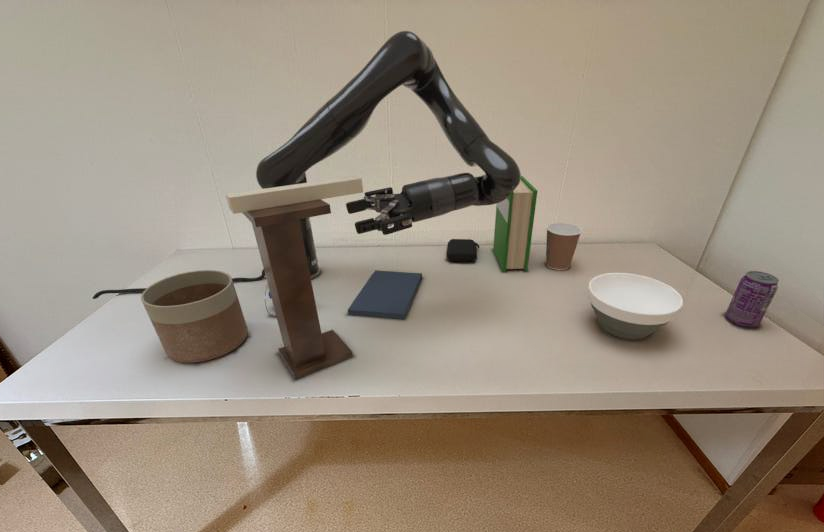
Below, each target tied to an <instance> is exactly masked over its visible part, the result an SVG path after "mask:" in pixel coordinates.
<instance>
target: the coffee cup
mask: <svg viewBox="0 0 824 532" xmlns="http://www.w3.org/2000/svg"><path fill="white" fill-rule="evenodd" d="M545 229H546V242H545V243H546V247H545V260H546V267H548V268H550V269H552V270H555V271H564V270H567V269H569V268H570V266H571V264H572V261H573V258H574V254H575V252H576V249H577V245H578V242H579V239H580V236H581V234H582V233H583V229H582V228H581V227H580V226H578V225H576V224H572V223H569V222H568V223H567V222H552V223H549V224H547V225H546V227H545Z"/></svg>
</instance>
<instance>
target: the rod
mask: <svg viewBox="0 0 824 532" xmlns="http://www.w3.org/2000/svg"><path fill="white" fill-rule="evenodd" d="M362 193H364V185H363V178H362V177H359V176H357V175H353V176H346V177H339V178H331V179H325V180H317V181H310V182H309V181H308V182H307V183H302V184H295V185H288V186H280V187H273V188H266V189H262V188H260V189H259V188H258V189H252V190H245V191H238V192H230V193H225V198H226V201H227V204H228V208H229V210H230V212H231V213H232V214H234V215H235V214H241V213H242V212H248V211H254V210H260V209H266V208H272V207H278V206H284V205H290V204H296V203H302V202H308V201H314V200H320V199H321V200H325V199H332V198H338V197H343V196H350V195H357V194H362ZM242 214H243V213H242Z"/></svg>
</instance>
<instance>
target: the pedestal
mask: <svg viewBox="0 0 824 532" xmlns="http://www.w3.org/2000/svg"><path fill="white" fill-rule="evenodd" d="M242 214H243V216H244V217H245V218H246V219H248V221H249V222H250V223H251V225H252V229H253V232H254V238H255V241H256V245H257V248H258V249H257V250H258V252H259V256H260V260H261V265H262V268H263V269H264V272H265V279H266V283H267V285H268V286H267V288H268V292H269V291H270V294H271V298H272V299H271V301H272V302H271V303H272V306H273V310H274V314H275V316H276V317H275V318H276V321H277V324H278V328H279V333H280V336H281V341H282V343H283V346H282V347H279V348H278V349H277V350H278V353H279V356H280V357H281V359H282V360H283V362H284V363H285V365H286V367H287V369H288V370H289V372H290V373H291V375H292V376H293V378H294V380H295V381H296V380H299V379H301V378H303V377H306V376H308V375H311V374H313V373H316V372H318V371H321V370H323V369H326V368H329V367H331V366H333V365H336V364H338V363H340V362H343V361H346V360H349V359H352V358H353V356H354V355H353V351H352V349H351V348H350V347H349V346H348V345H347V344H346V343H345V341H344V340H343V339H342V338H341V337H340V336H339V335H338V334H337V332H336V331H334V329H330V330H326V331H324V332H322V329H321V328H322V327H321V324H320V323H321V322H320V318H319V314H318V308H317V304H316V299H315V294H314V287H313V283H312V279H311V277H310V272H309V267H308V262H307V257H306V252H305V247H304V242H303V237H302V232H301V227H300V221H299V219H303V218H309V217H310V218H313V217H314V218H315V217H319V216H324V215H329V214H330V215H331V214H332V209H331V204H329V203H328V202H326V201H324V199H320V200H314V201H308V202H302V203H296V204H290V205H284V206H278V207H272V208H266V209H260V210H254V211H248V212H242Z"/></svg>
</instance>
